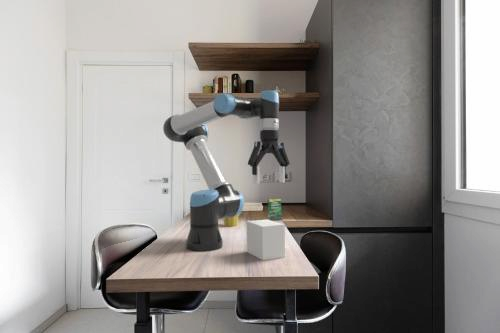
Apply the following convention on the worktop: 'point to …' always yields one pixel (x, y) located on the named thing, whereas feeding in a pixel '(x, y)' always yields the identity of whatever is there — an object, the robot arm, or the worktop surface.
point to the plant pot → (231, 221)
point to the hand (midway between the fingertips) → (269, 182)
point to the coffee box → (274, 209)
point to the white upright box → (266, 239)
